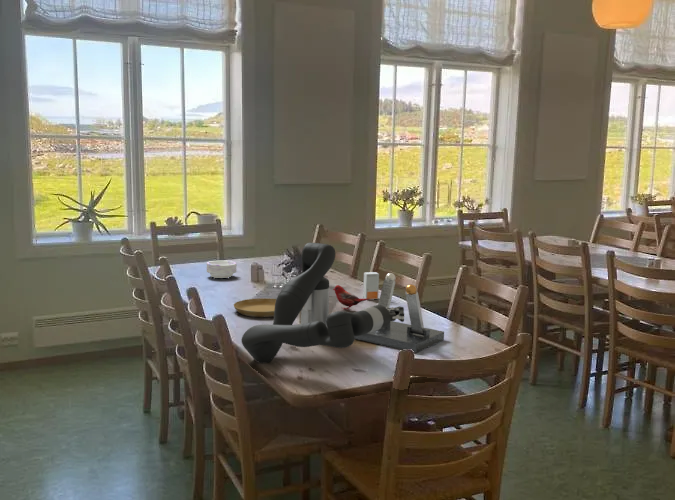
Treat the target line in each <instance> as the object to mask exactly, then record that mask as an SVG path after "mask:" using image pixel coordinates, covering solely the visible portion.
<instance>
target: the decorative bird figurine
mask: <svg viewBox="0 0 675 500" xmlns="http://www.w3.org/2000/svg"><path fill="white" fill-rule="evenodd" d="M332 290H333V291H334V293H335V296H336V299H337V300H338V303H340V304H341V305H343V306H344V307H342V309H343V310H347V311H350V310H351V308H352V307H353V306H357V305H358V304H360V303H361V302H364V301H370V300H369V299H364V298H359V297H358V296H356V295H355V294H353V293H350V292H348V291H346V290H345V289H344V287H342V286H341V285H339V284H338V285H337V284H336V286H335V287H334V288H333V289H332Z"/></svg>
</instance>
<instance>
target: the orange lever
mask: <svg viewBox="0 0 675 500" xmlns="http://www.w3.org/2000/svg"><path fill="white" fill-rule="evenodd" d="M405 298H406V304H407V310H408V315H409V320H410V325H411V330H410V332H411V333H414V334H419V335H423V336H424V330H425V329H424V328H425V326H424V320H423V315H422V308H421V302H420V297H419V292H418V291H417V287H416V286H415V285H414V284H411V283H410V284H408V285H407V286H406V287H405Z"/></svg>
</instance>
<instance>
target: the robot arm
mask: <svg viewBox="0 0 675 500" xmlns="http://www.w3.org/2000/svg"><path fill="white" fill-rule="evenodd" d="M335 258H336V250H335V248H334V246H333V245H331V244H327V243H320V242H319V243H318V242H307V243H306V244H304V246H303V248H302V252H301V273H300V274H298V275H297V276H295V277H293V278H292V279H290V280H289V281H288V282H286V284H285V285H284V286H283V287H282V288H281V290H280V292H279V293H278V295H277V297H276V298H275V299H276V303H275V310H274V317H273V322H272V324H257V325H254V326H251V327H249V328H248V329H247V330H246V331H245V332H244V333H243V334H242V337H241V344H242V346H243V348H244V349H245V350H246V351H247V353H248V354H249V355H250V356H251V357H252V359H253V360H254V361H255V362H257V363H261V364H268V363H270V362H271V361H272V360H273V359H274V358H275V357H276V356H277V354H278V353H279V351H280V350H281V347H282V346H283V344H286V345H290V346H293V347H299V348H309V347H316V346H317V347H318V346H327V347H331V348H336V349H337V348H338V349H345V348H349V347H351V346H352V345H353V343H354V342H355V339H354V336H360V335H363V334H366V333H371V332H374V331H377V330H380V329H383V328H385V327H387V326H388V324H389V323H390V322H391V321H394V322H396V320H398V321H400V323H404V322H405V308H404V306H396V307H393V306H392V307H384V306H382V305H378V304H376V305H372V306H370V307H366V308H365V307H364V308H363V309H361V310H359V311H355V312H351V311H343V310H337V311H336V310H335V311H333V312H331V313H330V311H329V309H330V280H329V279H328V278H327V277H326V274H327V273H328V272H329V270H331V268H332V266H333V264H334V262H335V260H336V259H335ZM299 314H300V323H299V324H294V322H295V320H296V319H297V317H298V315H299Z"/></svg>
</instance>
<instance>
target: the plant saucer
mask: <svg viewBox="0 0 675 500" xmlns="http://www.w3.org/2000/svg"><path fill="white" fill-rule="evenodd" d="M276 299H277V298H269V297H267V298H263V297H262V298H259V297H257V298H248V299H243V300H238V301H237V302H234V304H233V308H234V309H235V311H237V313H239V314H241V315H243V316H246V317H252V318H274V310H275V303H276Z"/></svg>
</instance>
